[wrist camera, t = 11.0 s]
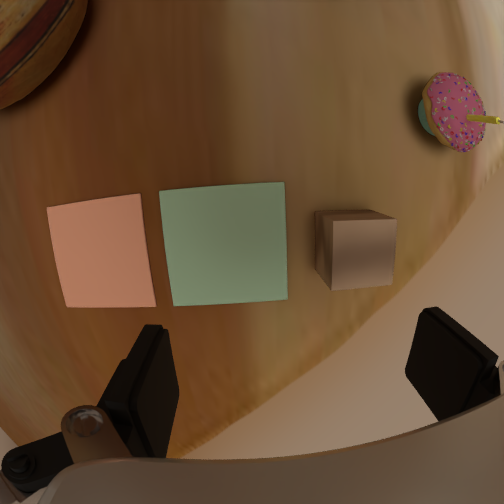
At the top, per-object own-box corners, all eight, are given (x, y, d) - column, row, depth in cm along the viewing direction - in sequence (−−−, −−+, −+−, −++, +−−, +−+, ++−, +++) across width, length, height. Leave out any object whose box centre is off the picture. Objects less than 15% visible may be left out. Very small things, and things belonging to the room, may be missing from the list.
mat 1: (48, 207, 27) (46, 207, 27) (141, 193, 27) (140, 193, 27) (68, 306, 30) (66, 307, 30) (156, 305, 31) (156, 306, 30)
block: (314, 211, 29) (333, 221, 23) (369, 209, 29) (397, 219, 23) (314, 268, 30) (331, 290, 25) (367, 264, 31) (392, 284, 25)
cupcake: (451, 163, 28) (525, 168, 16) (396, 132, 27) (470, 120, 15) (461, 102, 26) (530, 90, 14) (409, 68, 25) (475, 36, 13)
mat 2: (159, 191, 28) (159, 191, 27) (283, 181, 28) (284, 182, 28) (174, 304, 31) (173, 306, 30) (287, 298, 31) (287, 299, 31)
